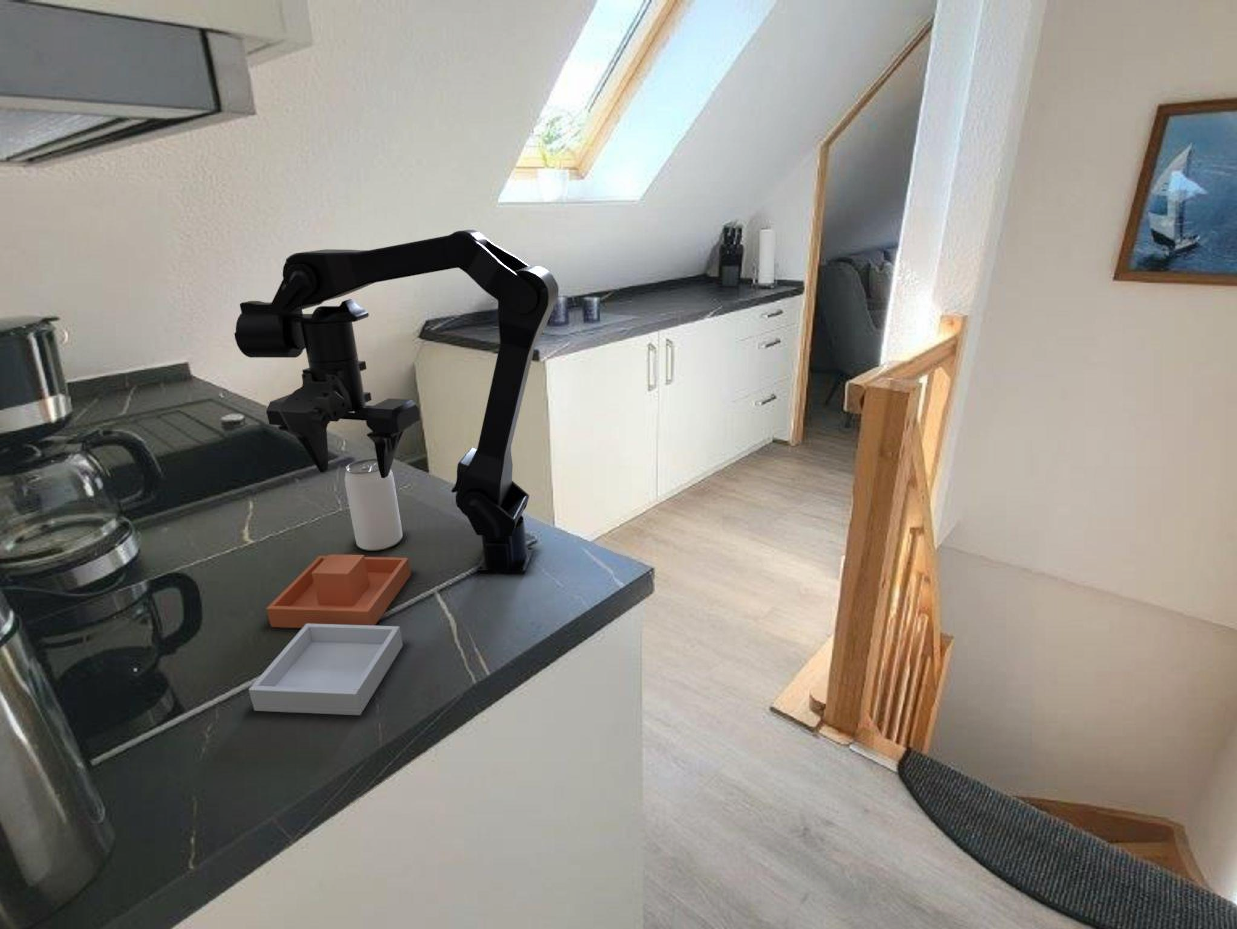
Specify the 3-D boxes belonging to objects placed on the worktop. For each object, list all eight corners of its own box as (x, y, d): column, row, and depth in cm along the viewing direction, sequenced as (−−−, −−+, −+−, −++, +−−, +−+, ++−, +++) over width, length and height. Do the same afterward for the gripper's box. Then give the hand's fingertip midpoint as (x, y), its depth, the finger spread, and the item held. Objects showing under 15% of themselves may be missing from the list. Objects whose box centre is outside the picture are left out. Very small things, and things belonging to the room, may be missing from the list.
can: (408, 530, 98) (396, 456, 94) (396, 551, 92) (383, 473, 88) (365, 531, 98) (351, 457, 94) (350, 553, 92) (334, 474, 88)
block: (336, 584, 83) (329, 554, 82) (370, 585, 83) (364, 554, 81) (318, 604, 79) (311, 572, 77) (354, 606, 79) (347, 573, 77)
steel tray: (310, 642, 73) (306, 623, 72) (403, 645, 72) (399, 626, 71) (254, 711, 63) (248, 689, 62) (360, 715, 62) (355, 694, 61)
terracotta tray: (322, 572, 87) (319, 555, 86) (411, 574, 86) (408, 557, 85) (270, 627, 76) (266, 608, 75) (371, 630, 75) (368, 611, 74)
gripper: (218, 369, 75) (249, 492, 81) (359, 376, 71) (381, 506, 77) (286, 349, 85) (309, 460, 91) (414, 355, 81) (429, 471, 87)
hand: (354, 474), depth 86 cm, fingers open, 9 cm apart
